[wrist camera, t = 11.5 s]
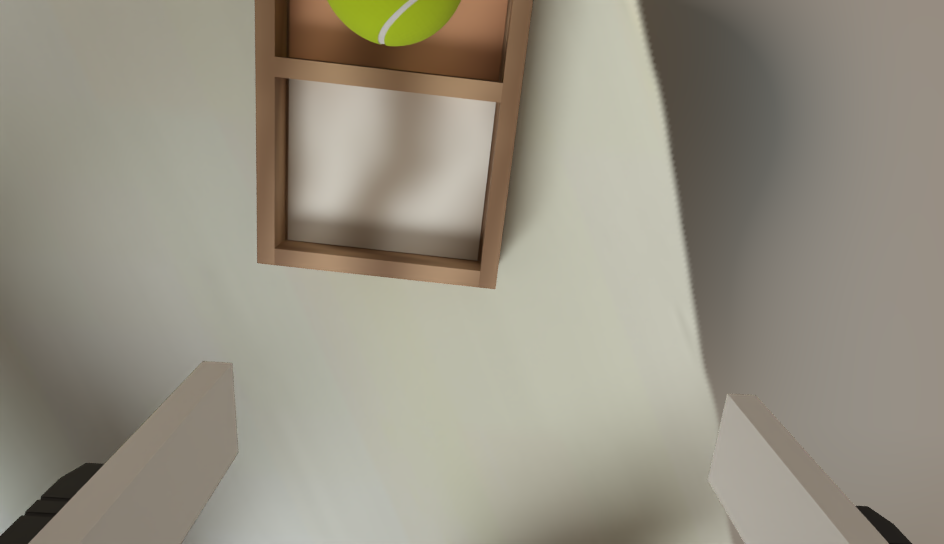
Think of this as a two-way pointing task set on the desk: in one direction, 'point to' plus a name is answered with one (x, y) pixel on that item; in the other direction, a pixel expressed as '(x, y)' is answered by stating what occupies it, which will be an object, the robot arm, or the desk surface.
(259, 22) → the socket board
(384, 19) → the tennis ball
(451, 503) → the desk surface
